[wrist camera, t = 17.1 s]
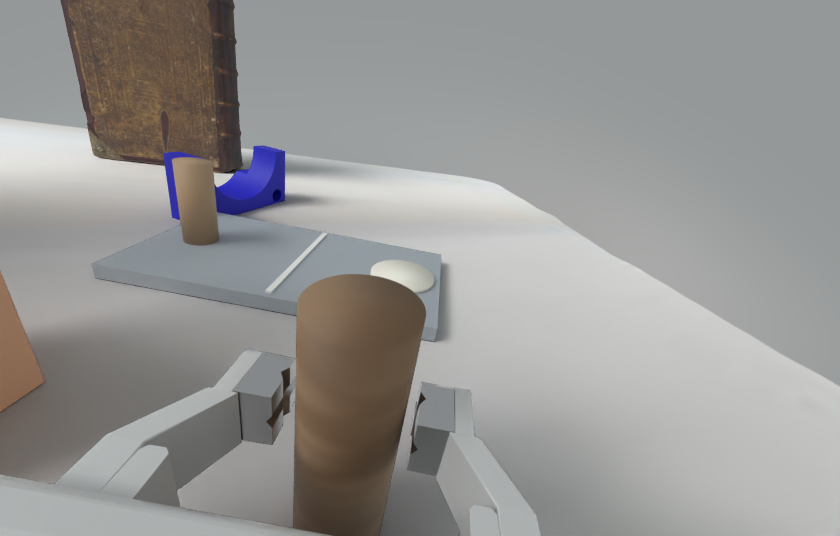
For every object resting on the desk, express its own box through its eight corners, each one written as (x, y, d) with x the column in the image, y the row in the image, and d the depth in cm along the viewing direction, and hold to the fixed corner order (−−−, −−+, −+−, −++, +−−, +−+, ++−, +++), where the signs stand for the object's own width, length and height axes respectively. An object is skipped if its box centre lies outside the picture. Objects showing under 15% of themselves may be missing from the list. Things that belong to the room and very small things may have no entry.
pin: (276, 564, 11) (272, 329, 7) (311, 471, 13) (322, 266, 9) (372, 581, 11) (421, 357, 7) (387, 485, 13) (429, 286, 9)
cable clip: (254, 192, 43) (252, 142, 40) (284, 201, 42) (284, 151, 39) (160, 214, 32) (149, 149, 30) (198, 227, 31) (190, 160, 29)
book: (248, 168, 52) (238, -41, 41) (227, 178, 46) (209, -65, 35) (128, 149, 50) (85, -76, 39) (89, 157, 44) (25, -109, 33)
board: (95, 277, 22) (65, 166, 19) (212, 221, 33) (205, 144, 30) (434, 341, 22) (458, 241, 19) (439, 264, 33) (454, 192, 30)
